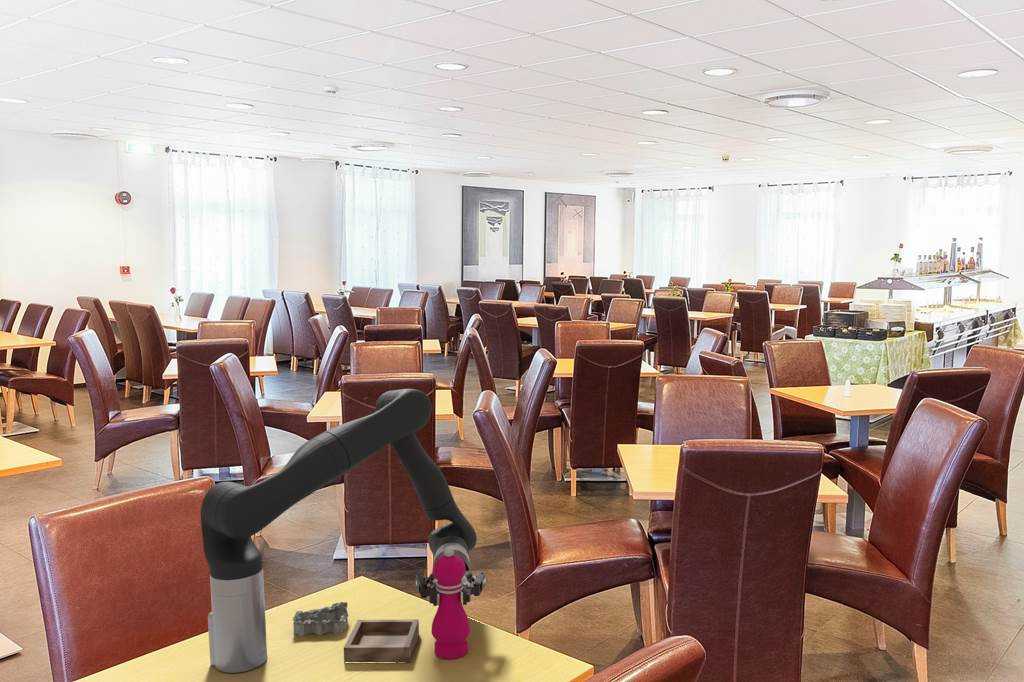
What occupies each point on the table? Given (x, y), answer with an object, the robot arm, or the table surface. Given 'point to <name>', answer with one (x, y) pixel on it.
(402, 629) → the tray
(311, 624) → the egg carton
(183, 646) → the table surface
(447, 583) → the pepper mill
